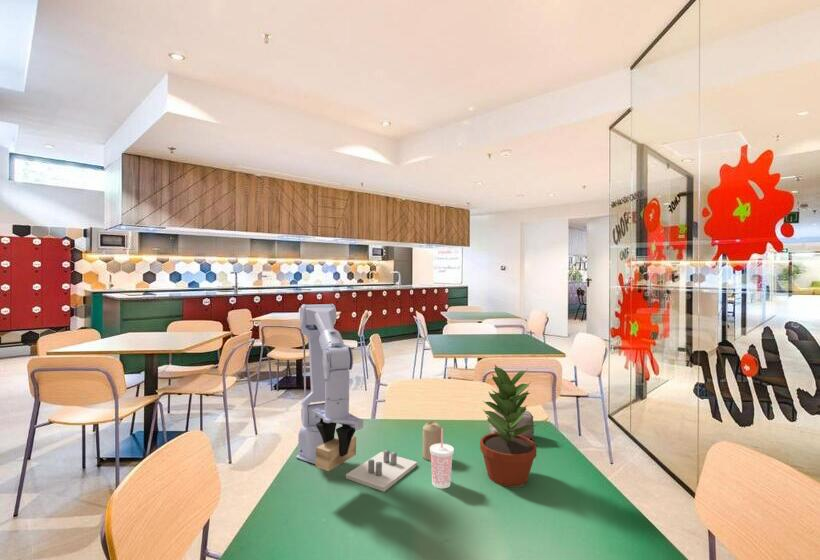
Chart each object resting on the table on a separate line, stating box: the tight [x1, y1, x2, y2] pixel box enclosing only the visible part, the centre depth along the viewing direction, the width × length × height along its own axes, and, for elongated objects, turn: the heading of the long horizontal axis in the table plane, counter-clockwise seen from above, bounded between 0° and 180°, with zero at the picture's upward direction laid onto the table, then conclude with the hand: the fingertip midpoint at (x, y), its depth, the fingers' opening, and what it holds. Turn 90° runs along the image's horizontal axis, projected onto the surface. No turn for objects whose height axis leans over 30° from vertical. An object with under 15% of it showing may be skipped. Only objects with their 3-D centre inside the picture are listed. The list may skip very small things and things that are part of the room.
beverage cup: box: [430, 427, 455, 489], centre depth 102 cm, size 6×6×14 cm
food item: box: [488, 410, 535, 440], centre depth 132 cm, size 14×8×10 cm, turn 93°
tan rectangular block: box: [315, 435, 357, 472], centre depth 97 cm, size 10×4×4 cm, turn 149°
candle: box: [422, 420, 443, 462], centre depth 116 cm, size 6×6×10 cm
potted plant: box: [479, 364, 537, 488], centre depth 106 cm, size 15×15×30 cm
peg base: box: [345, 449, 418, 492], centre depth 107 cm, size 12×16×4 cm
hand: (336, 452), depth 97 cm, fingers closed on tan rectangular block, 4 cm apart
